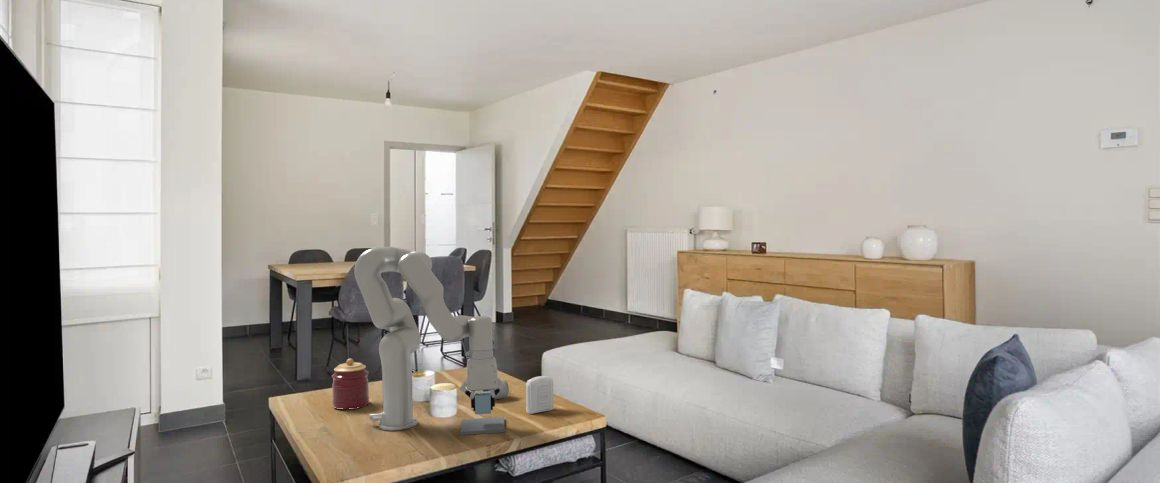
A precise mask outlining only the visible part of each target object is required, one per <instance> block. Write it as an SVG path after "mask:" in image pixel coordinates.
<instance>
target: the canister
mask: <svg viewBox="0 0 1160 483" xmlns="http://www.w3.org/2000/svg"><path fill="white" fill-rule="evenodd" d="M366 368H367V366H366V365H365V364H363V363H362V362H356V361H354V359H353V358H348V359H346V362H344V363H340V364H338V365H337V366H336V367H334V369H333V370H334V373H333V374H332V375H331V378H332V379H333V380H332V381H333V382H332V384H331V386H332V401H331V402H332V404H331V405H332V406H334V407H336V408H343V409H349V408H357V407H361V408H363V407H362V406H364V407H366V406H368V405H369V404H368V403H369V402H370V396H369V392H370V391H369V380H368V375H369V373H370V372H369V371H368V370H366ZM367 404H368V405H367ZM365 405H366V406H365ZM334 407H333V408H334ZM357 409H358V408H357Z"/></svg>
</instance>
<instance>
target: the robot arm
mask: <svg viewBox="0 0 1160 483" xmlns="http://www.w3.org/2000/svg"><path fill="white" fill-rule="evenodd" d="M432 268H433V261H432V259H431V257H430V256H429V254H426V253H425V252H423V251H417V250H410V249H405V248H400V247H394V246H381V247H372V248H369V249H367V250H365V251H363V252H362V254H360V255H359V256H358V258H357V260H356V262H355V265H354V278H355V281H356V284H357V286H358V288H359V290H360V293H361V296H362V298H363V301H364V304H365V305H366V308H367V310H368V314H369V316H370V318H371V321H372V323H373V325H374V326H375V327H376V328H378V329H380V330H386V329H389V331H390V332H387V334H385V335H384V336H383V337H382V338H381V340H380V342H379V346H378V353H379V358H380V363H381V364H380V365H381V374H382V375H381V376H382V378H381V380H382V408H383V410H382V412H379V413H370V414H369V420H370V421H372V422H378V421H379V422H378V428H379V429H380V430H384V431H402V430H407V429H410V428H413V427H415V426H417V425H418V424H419V420H418V419H419V418H417V417H415V416H414V408H413V406H414V404H413V373H412V372H413V371H412V370H413V369H412V363H411V360H410V355H411V354H412V353H415V352H416V351H417V350H418V349H419V348H420V347H421V346H420V345H421V340H422V339H421V334H420V331H419V328H418V325H417V324H416V322H415V319H414V316H413V313H412V311H411V308H410V307H409V305H408V303H407V302H406V301H405V300H403V299H401V298H398V297H392V294H391V292H390V289H389V287H388V284H387V283H386V281H385V280H384V279H383V278H382V273H387V272H392V273H393V272H394V273H399V274H401V276H402V278H404V280H405V281H406V283H407V284H408V285H409V287H410V288H411V290H413V292H414V293H415V294H416V296H417V297H418V299H419V300H420V301H421V304H422V307H423V310H424V312H425V315H426V318H427V320H428V321H429V323H430V325H431V326H432V327H433V329H434V330H435V332H437V334H438V335H439V336H440V338H442V339H443V340H444V341H445V342H447V343H457V342H459V341H460V340H462V339H465V338H468V337H469V350H468V351H465V352H464V354H465V355H464V356H465V357H466V356H467V357H469V358H468V359H467V360H466V361H467V362H466V379H465V380H464V381H463V382H462V384H461V385H460V386H459V390H460V391H461V392H462V393H464V394H465V395H466V396H467V397H468V398H469V399H470V407H471V409H472V411H473V412H475V392H480V391H483V390H490V392H491V411H493V410H494V407H496V402H495V401H496V400H495V396H496V395H497V394H498V393H499V392H500V391H501V390H502V389H503V388H504V387H505V384H504V383H503V382H502V381H501V380H500V379H501V378H500V377H499V376H498V375H499V374H498V373H499V372H498V365H497V359H496V357H494V348H493V346H494V344H493V320H492V318H491V317H489V316H487V315H480V316H477V315H476V316H468V315H464V314H463V315H462V314H460V315H456V316H454V315H453V314H452V312H451V311H450V309H449V308H448V307H447V305H446V302H445V300H444V286H443V284H442V283H441V282H440V280H439V279H438V278H437V276H436V275H435V274H434V272H433V270H432ZM498 384H499V385H500V386H499V387H498ZM497 387H498V388H497ZM494 389H496V390H495V391H494Z"/></svg>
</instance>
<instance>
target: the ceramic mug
mask: <svg viewBox="0 0 1160 483" xmlns="http://www.w3.org/2000/svg"><path fill="white" fill-rule="evenodd" d="M499 379H500V380H501V381H502V382H503V383H504V384H505V387H504V388H503V389H502V390H501V391H500V392H499V393H498V394H497V395H496V396H495V401H496V400H500V399H504V398H507V397H508V395H509V392H510V390H509V384H508V381H507V380H506V379H504V378H499ZM499 386H500V385H499V384H498V387H499ZM498 387H497V388H498ZM495 390H496V389H494V391H495ZM486 391H490V390H482V392H486ZM490 396H491V392H490Z"/></svg>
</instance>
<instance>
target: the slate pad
mask: <svg viewBox="0 0 1160 483" xmlns="http://www.w3.org/2000/svg"><path fill="white" fill-rule="evenodd" d="M505 428H506V427H505V417H504V416H495V417H481V418H466V419H464V418H463V419H461V424H460V432H459V433H460V434H459V435H460V436H465V435H477V434H478V435H481V434H493V433H494V434H496V433H497V434H498V433H505V432H506V429H505Z"/></svg>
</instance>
